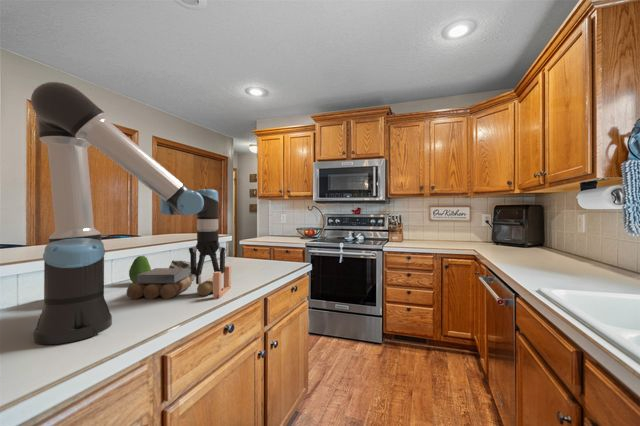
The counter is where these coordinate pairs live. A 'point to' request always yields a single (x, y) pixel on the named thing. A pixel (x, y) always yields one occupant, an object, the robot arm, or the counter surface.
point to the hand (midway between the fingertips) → (208, 292)
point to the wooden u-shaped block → (217, 282)
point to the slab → (163, 275)
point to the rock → (183, 265)
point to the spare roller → (205, 287)
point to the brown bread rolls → (158, 289)
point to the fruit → (138, 268)
